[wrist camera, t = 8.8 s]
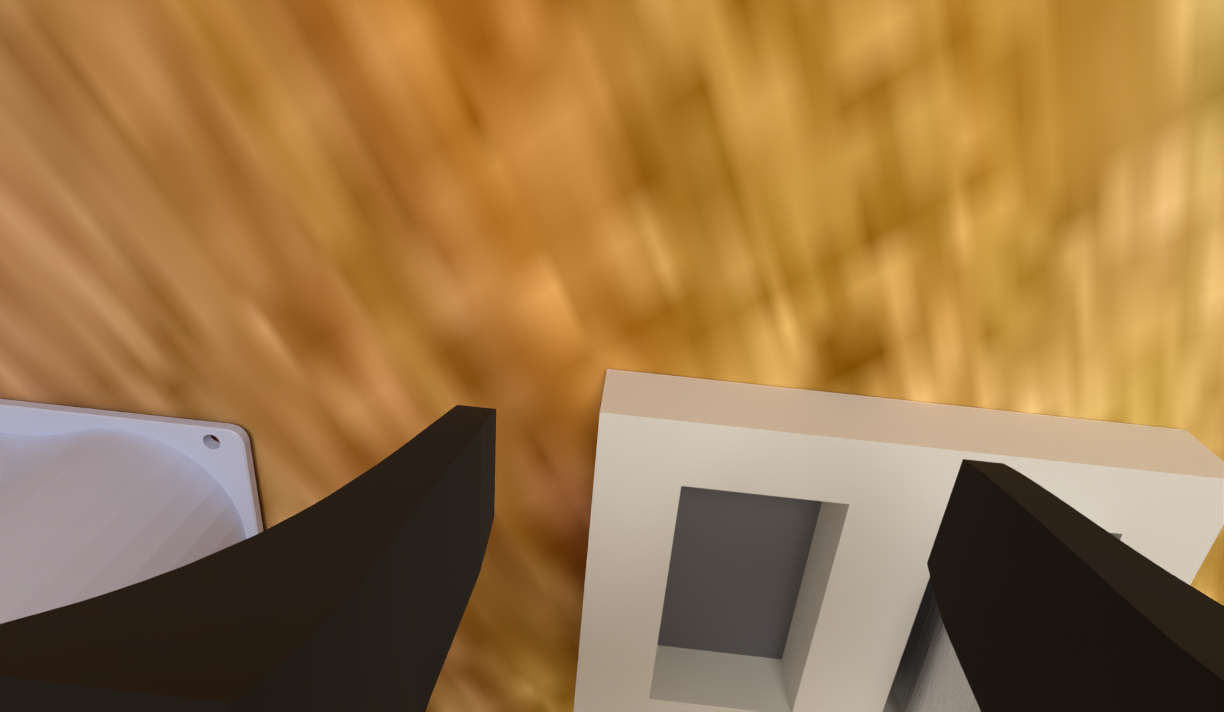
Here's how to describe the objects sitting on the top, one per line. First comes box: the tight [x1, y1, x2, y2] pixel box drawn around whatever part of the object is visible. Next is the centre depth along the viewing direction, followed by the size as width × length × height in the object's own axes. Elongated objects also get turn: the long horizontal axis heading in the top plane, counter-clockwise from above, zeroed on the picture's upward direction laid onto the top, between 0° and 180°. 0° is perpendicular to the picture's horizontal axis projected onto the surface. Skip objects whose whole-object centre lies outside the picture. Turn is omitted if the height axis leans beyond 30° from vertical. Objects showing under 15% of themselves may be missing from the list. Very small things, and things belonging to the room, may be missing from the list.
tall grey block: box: [892, 578, 981, 712], centre depth 21 cm, size 4×7×6 cm, turn 176°
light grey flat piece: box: [573, 369, 1224, 712], centre depth 23 cm, size 16×12×2 cm
